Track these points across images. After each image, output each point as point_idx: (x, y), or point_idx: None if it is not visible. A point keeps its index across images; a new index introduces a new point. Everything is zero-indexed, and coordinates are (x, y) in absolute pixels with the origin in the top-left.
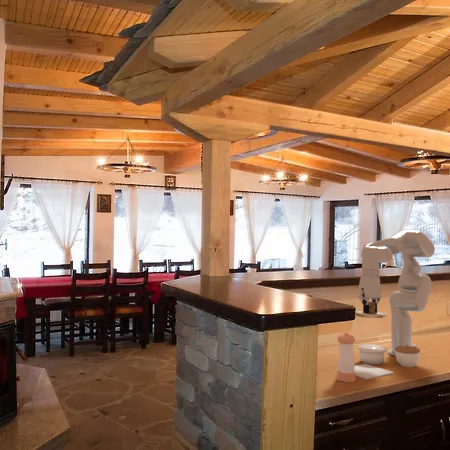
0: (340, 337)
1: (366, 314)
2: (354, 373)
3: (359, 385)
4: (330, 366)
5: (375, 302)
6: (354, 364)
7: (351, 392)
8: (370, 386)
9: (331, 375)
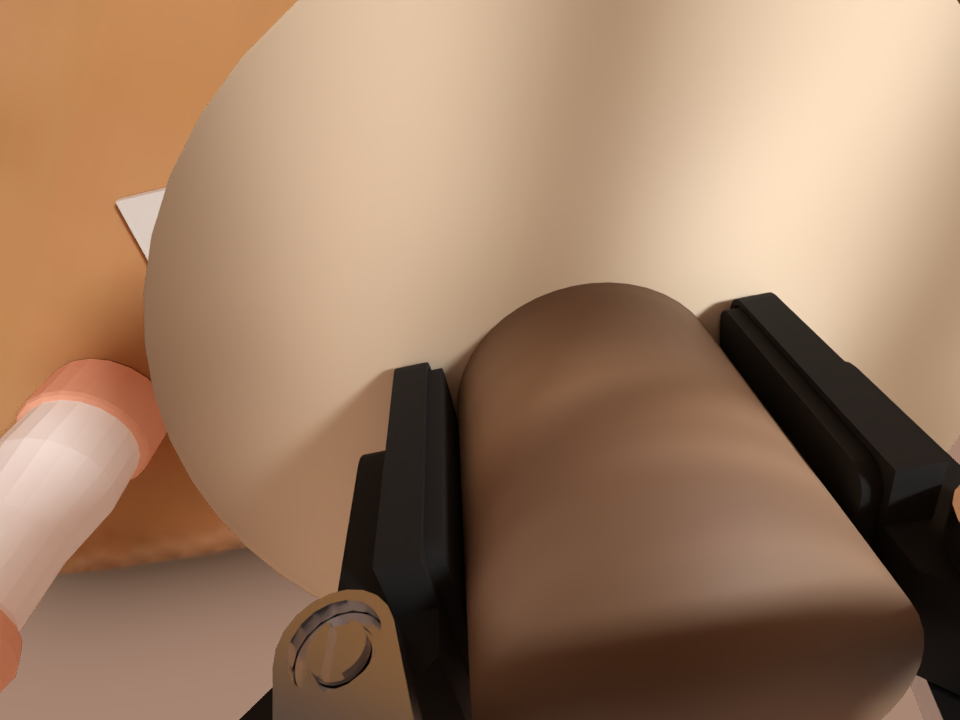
0: None
1: (340, 558)
2: (133, 478)
3: (158, 499)
4: (77, 50)
5: (943, 682)
6: (114, 505)
7: (74, 564)
8: (215, 522)
9: (24, 302)
